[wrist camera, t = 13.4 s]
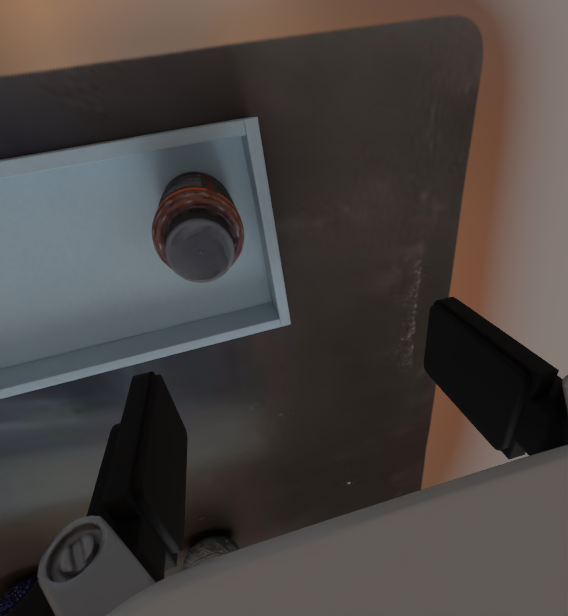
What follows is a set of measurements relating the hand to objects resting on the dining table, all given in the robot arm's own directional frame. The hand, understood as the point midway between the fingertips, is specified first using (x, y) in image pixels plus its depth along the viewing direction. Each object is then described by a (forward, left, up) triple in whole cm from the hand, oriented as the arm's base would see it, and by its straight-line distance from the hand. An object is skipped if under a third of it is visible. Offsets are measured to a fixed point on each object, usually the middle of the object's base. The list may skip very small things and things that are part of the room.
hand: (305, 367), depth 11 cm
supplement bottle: (+2, -3, -22) cm, 22 cm away
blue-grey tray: (+12, -8, -23) cm, 27 cm away
